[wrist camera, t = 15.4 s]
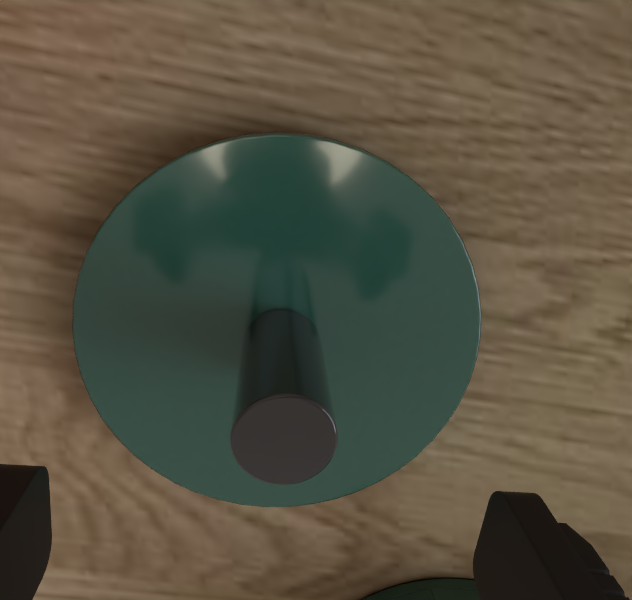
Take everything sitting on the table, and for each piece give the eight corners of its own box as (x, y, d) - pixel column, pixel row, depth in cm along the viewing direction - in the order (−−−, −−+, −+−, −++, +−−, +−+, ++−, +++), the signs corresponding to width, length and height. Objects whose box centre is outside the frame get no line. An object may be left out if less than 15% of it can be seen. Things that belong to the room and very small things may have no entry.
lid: (509, 156, 17) (633, 192, 11) (430, 493, 21) (489, 648, 15) (78, 105, 15) (-42, 115, 10) (89, 475, 20) (10, 637, 14)
